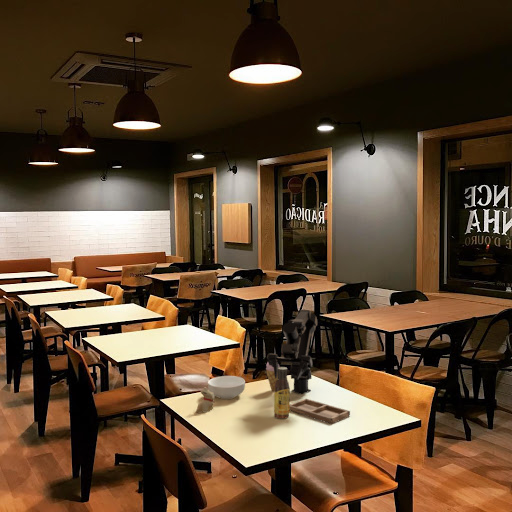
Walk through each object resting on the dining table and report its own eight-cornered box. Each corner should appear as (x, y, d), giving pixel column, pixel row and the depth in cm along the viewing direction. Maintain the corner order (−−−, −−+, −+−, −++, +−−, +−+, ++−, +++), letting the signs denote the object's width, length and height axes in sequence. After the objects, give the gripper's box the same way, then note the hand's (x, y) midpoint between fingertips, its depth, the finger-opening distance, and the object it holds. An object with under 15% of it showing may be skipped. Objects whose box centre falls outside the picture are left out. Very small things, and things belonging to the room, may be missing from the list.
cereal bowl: (201, 395, 257) (200, 380, 256) (231, 388, 267) (230, 373, 266) (222, 405, 243) (221, 389, 243) (252, 397, 253) (252, 381, 253)
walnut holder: (306, 403, 244) (306, 398, 243) (349, 415, 227) (349, 411, 227) (287, 410, 235) (287, 405, 235) (331, 423, 219) (331, 418, 219)
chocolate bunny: (215, 411, 235) (214, 388, 235) (196, 412, 234) (195, 389, 233) (214, 407, 241) (213, 384, 240) (195, 408, 239) (195, 385, 239)
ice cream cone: (283, 390, 262) (282, 358, 261) (274, 393, 257) (273, 361, 256) (272, 387, 266) (272, 356, 265) (263, 390, 262) (263, 359, 261)
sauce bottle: (278, 420, 224) (278, 371, 222) (271, 415, 229) (270, 367, 228) (293, 417, 227) (292, 368, 225) (285, 412, 232) (284, 365, 231)
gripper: (267, 334, 241) (260, 367, 231) (310, 337, 235) (305, 370, 225) (273, 349, 249) (266, 380, 239) (314, 351, 243) (309, 383, 234)
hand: (286, 378), depth 234 cm, fingers open, 9 cm apart
